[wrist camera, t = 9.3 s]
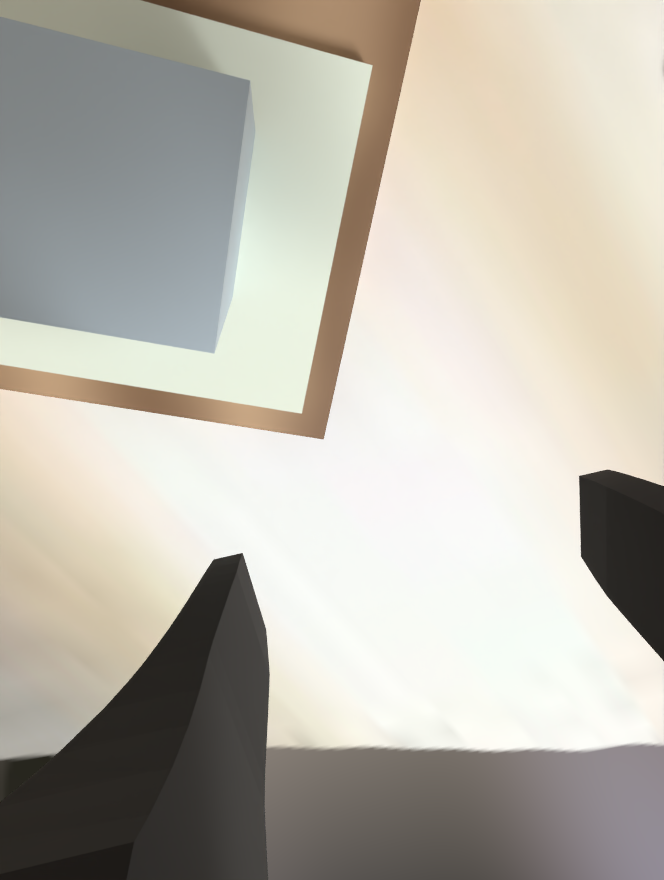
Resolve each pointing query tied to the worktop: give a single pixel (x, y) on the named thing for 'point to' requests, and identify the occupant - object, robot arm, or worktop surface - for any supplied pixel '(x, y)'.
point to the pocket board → (386, 48)
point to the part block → (119, 188)
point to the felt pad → (265, 217)
